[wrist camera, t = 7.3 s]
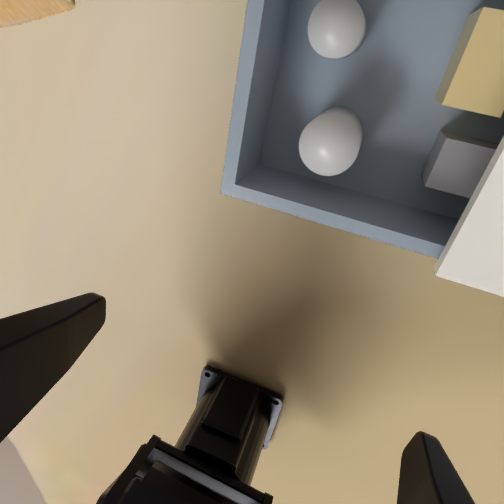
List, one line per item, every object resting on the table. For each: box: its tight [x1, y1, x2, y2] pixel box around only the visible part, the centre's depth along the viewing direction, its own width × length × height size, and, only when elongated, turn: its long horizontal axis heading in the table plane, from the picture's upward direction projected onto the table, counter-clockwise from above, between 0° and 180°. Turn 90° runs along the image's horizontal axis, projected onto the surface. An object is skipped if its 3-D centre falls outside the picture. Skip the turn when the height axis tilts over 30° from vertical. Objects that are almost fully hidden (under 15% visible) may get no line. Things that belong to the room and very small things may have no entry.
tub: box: [220, 0, 504, 259], centre depth 14 cm, size 10×13×4 cm
